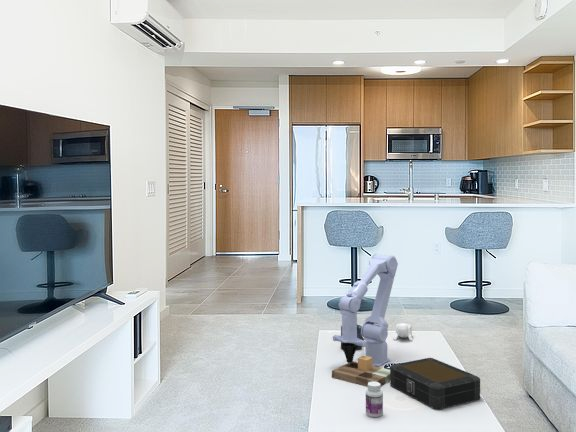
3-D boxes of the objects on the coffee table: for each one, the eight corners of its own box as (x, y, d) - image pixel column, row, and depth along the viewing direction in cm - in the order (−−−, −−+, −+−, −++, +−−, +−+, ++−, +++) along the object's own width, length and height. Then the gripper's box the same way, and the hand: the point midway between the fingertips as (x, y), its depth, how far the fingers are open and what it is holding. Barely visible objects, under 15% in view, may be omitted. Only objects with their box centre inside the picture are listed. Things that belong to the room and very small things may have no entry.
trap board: (352, 367, 205) (352, 361, 205) (395, 377, 193) (395, 371, 193) (331, 377, 195) (331, 370, 195) (376, 388, 183) (376, 381, 182)
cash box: (386, 386, 186) (386, 364, 186) (431, 376, 195) (431, 356, 194) (434, 412, 163) (434, 388, 163) (482, 400, 172) (482, 377, 172)
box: (348, 352, 224) (348, 328, 224) (340, 349, 229) (340, 325, 228) (362, 349, 229) (362, 325, 228) (354, 346, 233) (354, 322, 233)
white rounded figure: (394, 341, 250) (392, 338, 237) (395, 324, 253) (392, 319, 239) (413, 343, 248) (411, 339, 234) (413, 325, 251) (411, 320, 237)
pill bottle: (363, 410, 164) (363, 380, 164) (380, 410, 165) (380, 380, 164) (367, 418, 159) (367, 387, 159) (384, 417, 159) (384, 386, 159)
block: (363, 365, 200) (363, 355, 199) (372, 367, 197) (372, 357, 197) (357, 368, 197) (357, 358, 196) (367, 370, 194) (367, 360, 194)
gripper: (328, 326, 202) (328, 360, 203) (360, 332, 193) (360, 368, 194) (338, 322, 208) (338, 356, 208) (369, 328, 198) (370, 363, 199)
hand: (349, 362), depth 201 cm, fingers closed
